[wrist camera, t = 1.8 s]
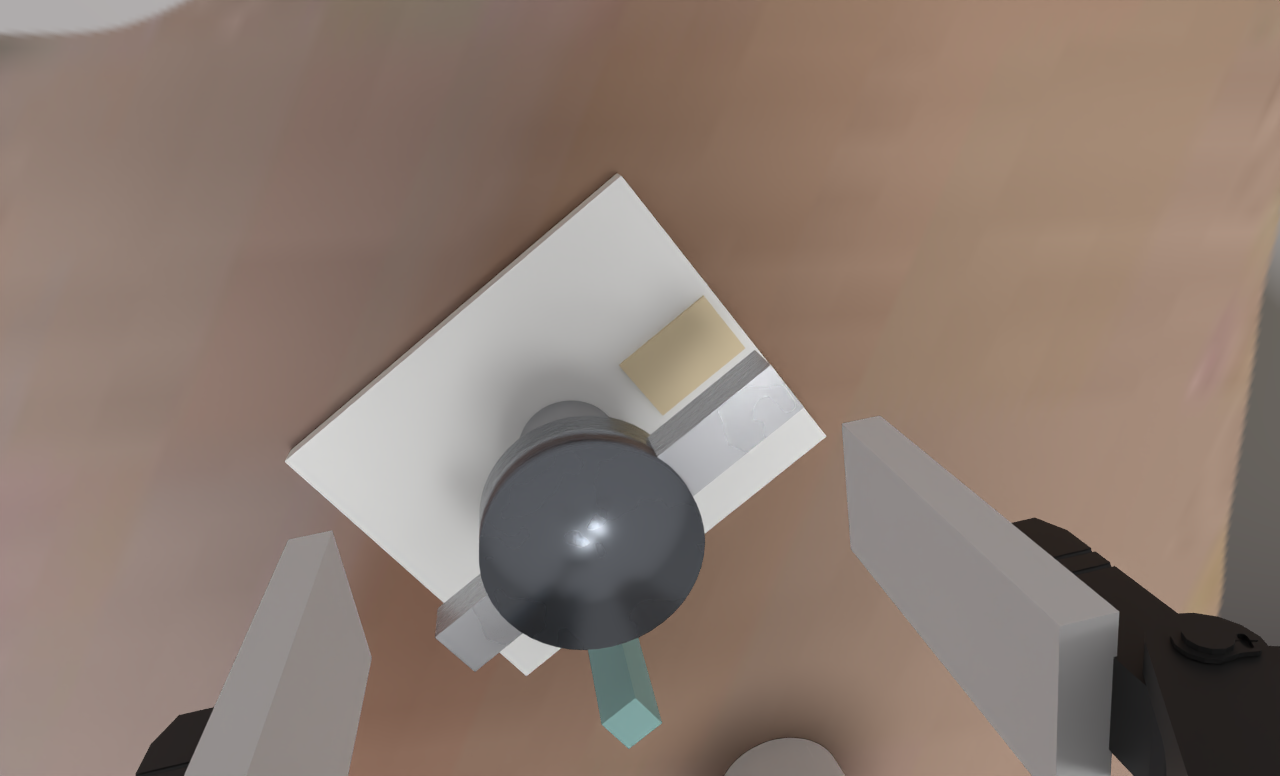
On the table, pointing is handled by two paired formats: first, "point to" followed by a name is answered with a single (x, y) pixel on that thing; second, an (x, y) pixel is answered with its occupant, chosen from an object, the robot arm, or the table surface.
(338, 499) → the lock base
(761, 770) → the coffee cup
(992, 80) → the table surface
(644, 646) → the table surface
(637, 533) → the knob
